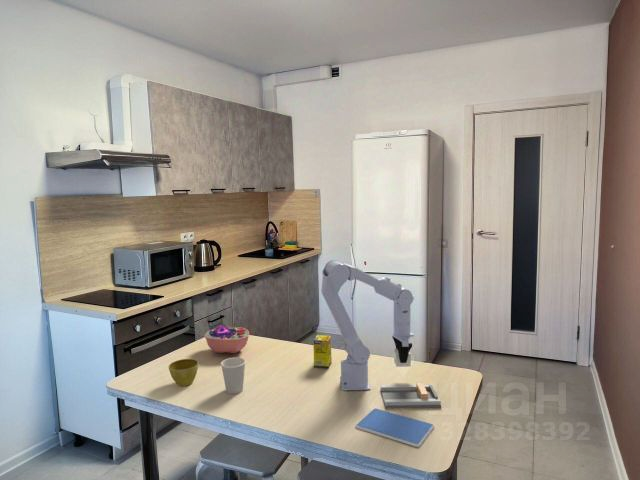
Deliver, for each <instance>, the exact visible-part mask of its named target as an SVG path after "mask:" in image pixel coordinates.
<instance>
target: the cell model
mask: <svg viewBox="0 0 640 480" xmlns="http://www.w3.org/2000/svg"><path fill="white" fill-rule="evenodd" d="M203 336H204V338H205V340H206V344H207V346H208V347H209V348H210V350H211V351H213V352H214V353H218V354H219V353H221V354H224V353H229V354H236V353H239V352H240V351H242V350H243V349H244V348H245V347H246V345H248V344H247V343H248V340H249V336H250V331H249V330H248V329H247V328H245V327H237V326H226V325H225V324H219V325H217V326H216V327H215V328H213V329H210V330H208V331H206V332H205V334H204V335H203Z"/></svg>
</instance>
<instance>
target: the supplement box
mask: <svg viewBox="0 0 640 480" xmlns="http://www.w3.org/2000/svg"><path fill="white" fill-rule="evenodd" d="M312 344H313V368H317V369H319V368H320V369H330V366H331V364H332V359H333V358H332V336H331V335H324V334H323V335H321V334H320V335H319V334H317V335H316V336H315V337H314V339H313V340H312Z"/></svg>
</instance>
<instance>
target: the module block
mask: <svg viewBox="0 0 640 480" xmlns="http://www.w3.org/2000/svg"><path fill="white" fill-rule="evenodd" d="M411 354H412V353H411V350H410V351H409V354H408V359H407V362H406V363H400V359H399V353H398V349H396V348H393V361H394V362H393V363H394V364H395V367H396V368H400V367H401V368H402V367H405V368H406V367H412V363H411V362H412V355H411Z"/></svg>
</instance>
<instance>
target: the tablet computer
mask: <svg viewBox="0 0 640 480" xmlns="http://www.w3.org/2000/svg"><path fill="white" fill-rule="evenodd" d="M354 428H355V429H357V430H361V431H364V432H367V433H369V434H370V433H371V434H373V435H377V436H380V437H383V438H386V439H389V440H393V441H396V442H400V443H403V444H406V445H408V446H412V447H414V448H420V447H421V446H422V445H423V443H424V442H425V441H426V440H427V438H428V437H429V435H430V434H431V433H432V431H433V430H434V429H435V425H434V423H430V422H426V421H423V420H418V419H415V418H411V417H408V416H404V415H400V414H398V413H394V412H390V411H386V410H383V409H379V408H372V409H371V410H370V411H369V412H368V413H367V414H366V415H365V416H364V417H362V418H361V419H360V421H358V422H357V423H355V427H354Z"/></svg>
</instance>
